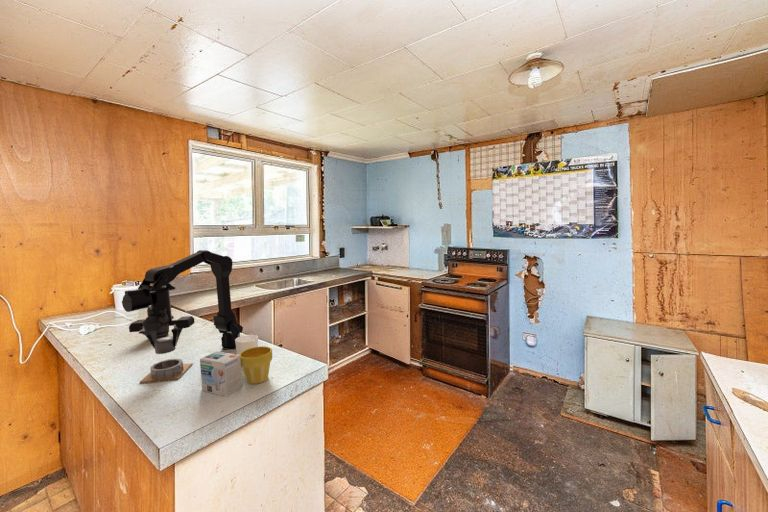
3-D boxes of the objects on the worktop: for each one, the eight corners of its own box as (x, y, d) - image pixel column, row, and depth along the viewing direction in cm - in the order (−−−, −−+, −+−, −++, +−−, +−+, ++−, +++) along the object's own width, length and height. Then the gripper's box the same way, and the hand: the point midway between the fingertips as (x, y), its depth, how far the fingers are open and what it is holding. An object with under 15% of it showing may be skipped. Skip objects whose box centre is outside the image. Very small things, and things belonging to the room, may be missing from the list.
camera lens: (160, 340, 151) (156, 308, 150) (145, 339, 153) (142, 308, 151) (174, 334, 159) (171, 304, 158) (160, 333, 161) (157, 303, 159)
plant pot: (247, 373, 116) (245, 346, 115) (277, 371, 116) (275, 345, 115) (236, 388, 105) (234, 359, 104) (269, 386, 106) (267, 357, 105)
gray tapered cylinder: (178, 346, 119) (177, 335, 119) (170, 353, 114) (169, 341, 113) (160, 348, 118) (159, 337, 118) (151, 354, 113) (150, 343, 112)
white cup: (237, 370, 118) (235, 343, 117) (236, 362, 125) (234, 336, 124) (260, 365, 122) (259, 339, 121) (258, 357, 129) (256, 333, 128)
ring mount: (192, 364, 124) (191, 356, 123) (178, 379, 112) (177, 370, 112) (157, 367, 122) (156, 359, 121) (139, 383, 110) (138, 373, 110)
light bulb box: (201, 391, 104) (198, 358, 103) (218, 381, 110) (216, 350, 109) (226, 396, 100) (224, 363, 99) (243, 386, 106) (241, 354, 105)
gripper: (116, 312, 105) (121, 359, 106) (179, 308, 108) (184, 353, 110) (135, 304, 115) (140, 346, 117) (193, 300, 119) (196, 341, 121)
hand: (165, 347), depth 116 cm, fingers closed on gray tapered cylinder, 6 cm apart
